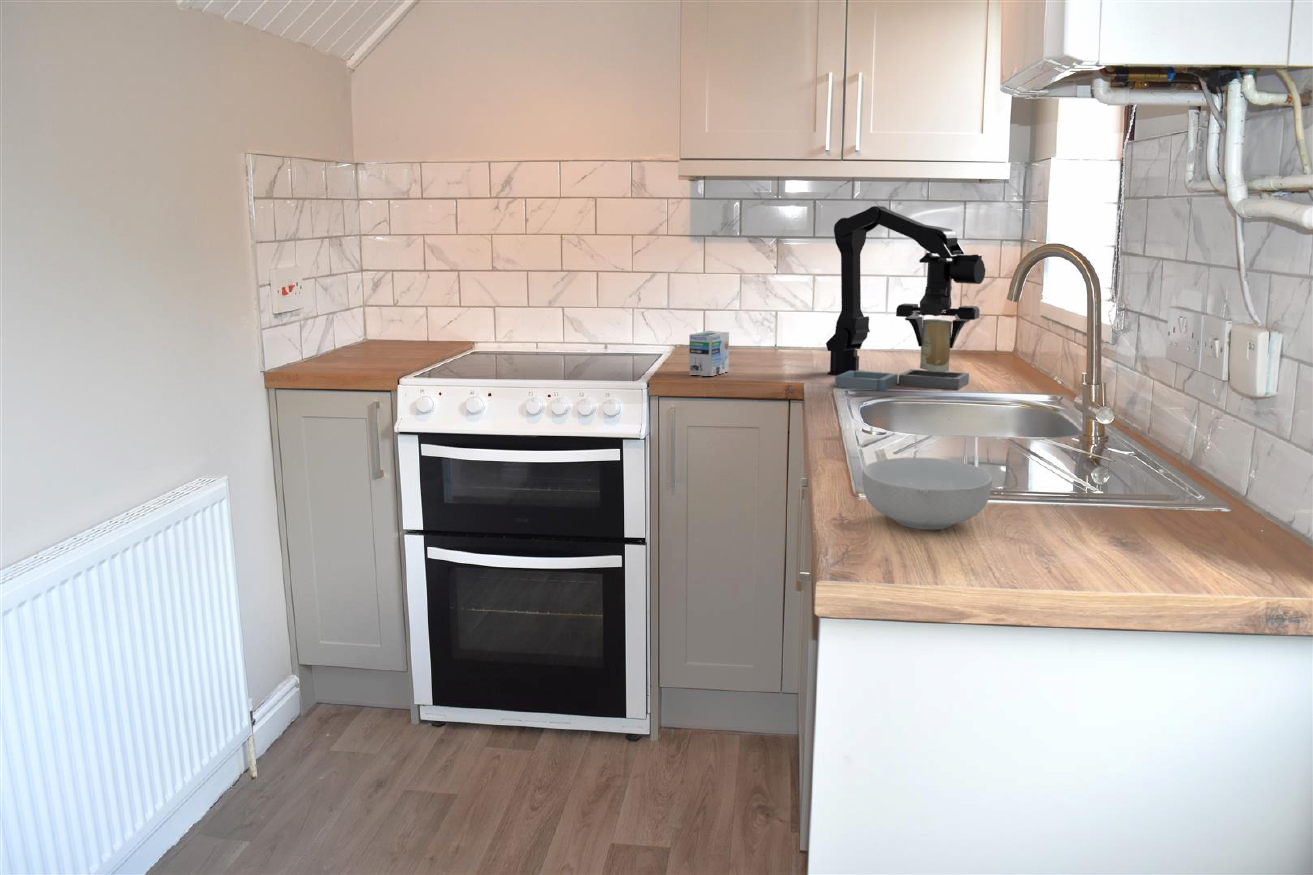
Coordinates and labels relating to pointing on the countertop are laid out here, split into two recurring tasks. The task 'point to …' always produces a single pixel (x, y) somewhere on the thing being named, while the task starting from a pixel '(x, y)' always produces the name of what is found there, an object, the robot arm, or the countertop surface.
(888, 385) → the slate tray
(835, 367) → the robot arm
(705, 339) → the light bulb box
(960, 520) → the cereal bowl
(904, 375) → the metal collar
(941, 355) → the skincare box
